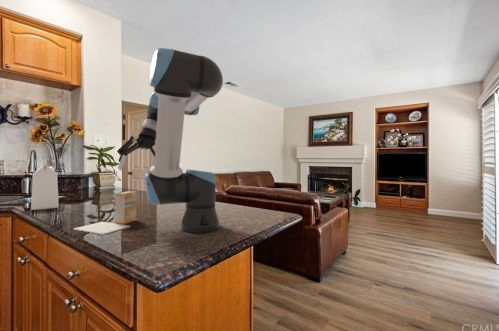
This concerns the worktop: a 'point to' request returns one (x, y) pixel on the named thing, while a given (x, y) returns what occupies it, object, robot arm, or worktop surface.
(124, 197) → the supplement box
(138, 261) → the worktop surface
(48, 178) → the milk
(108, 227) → the mat
